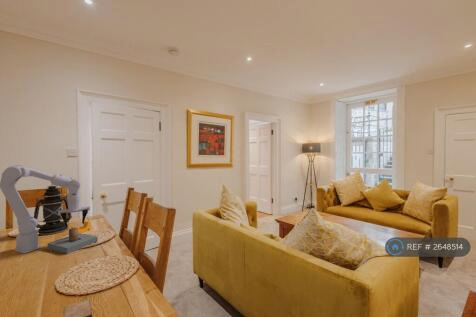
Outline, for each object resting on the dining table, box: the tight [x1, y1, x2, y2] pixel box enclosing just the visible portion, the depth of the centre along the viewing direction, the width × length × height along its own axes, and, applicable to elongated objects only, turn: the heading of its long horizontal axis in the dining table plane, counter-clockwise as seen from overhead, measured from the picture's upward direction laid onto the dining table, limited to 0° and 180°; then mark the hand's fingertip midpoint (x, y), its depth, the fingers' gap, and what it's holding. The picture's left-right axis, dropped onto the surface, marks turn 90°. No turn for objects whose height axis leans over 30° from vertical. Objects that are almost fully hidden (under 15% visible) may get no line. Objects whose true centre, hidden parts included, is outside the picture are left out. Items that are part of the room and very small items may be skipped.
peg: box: [68, 227, 79, 242], centre depth 122 cm, size 4×4×9 cm
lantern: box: [33, 185, 73, 236], centre depth 145 cm, size 20×16×30 cm
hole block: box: [47, 233, 99, 255], centre depth 123 cm, size 16×16×3 cm
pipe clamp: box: [70, 220, 91, 234], centre depth 140 cm, size 12×4×6 cm, turn 175°
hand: (74, 224), depth 128 cm, fingers open, 7 cm apart
